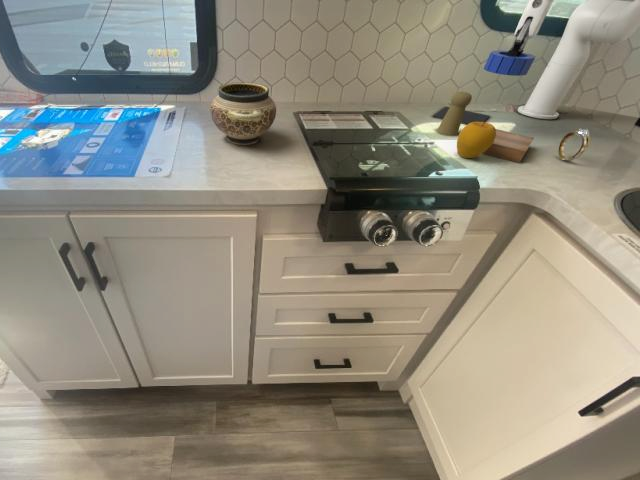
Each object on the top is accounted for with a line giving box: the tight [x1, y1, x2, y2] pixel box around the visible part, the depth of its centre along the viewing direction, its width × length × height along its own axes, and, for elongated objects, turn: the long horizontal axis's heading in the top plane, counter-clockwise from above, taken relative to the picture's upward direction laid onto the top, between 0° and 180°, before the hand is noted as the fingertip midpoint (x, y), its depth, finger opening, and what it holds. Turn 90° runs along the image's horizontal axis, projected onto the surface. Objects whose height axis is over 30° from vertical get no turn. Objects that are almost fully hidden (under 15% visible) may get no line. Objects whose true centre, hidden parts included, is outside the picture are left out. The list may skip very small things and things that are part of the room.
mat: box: [432, 106, 490, 126], centre depth 120 cm, size 15×15×1 cm
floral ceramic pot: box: [209, 82, 277, 146], centre depth 94 cm, size 24×18×15 cm
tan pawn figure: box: [436, 91, 473, 137], centre depth 105 cm, size 6×6×11 cm
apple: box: [456, 121, 497, 159], centre depth 91 cm, size 8×8×9 cm
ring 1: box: [483, 50, 537, 77], centre depth 98 cm, size 11×11×4 cm
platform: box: [482, 128, 535, 163], centre depth 99 cm, size 14×14×3 cm
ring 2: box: [558, 127, 591, 161], centre depth 92 cm, size 7×3×8 cm, turn 179°
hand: (508, 65), depth 102 cm, fingers closed on ring 1, 2 cm apart
